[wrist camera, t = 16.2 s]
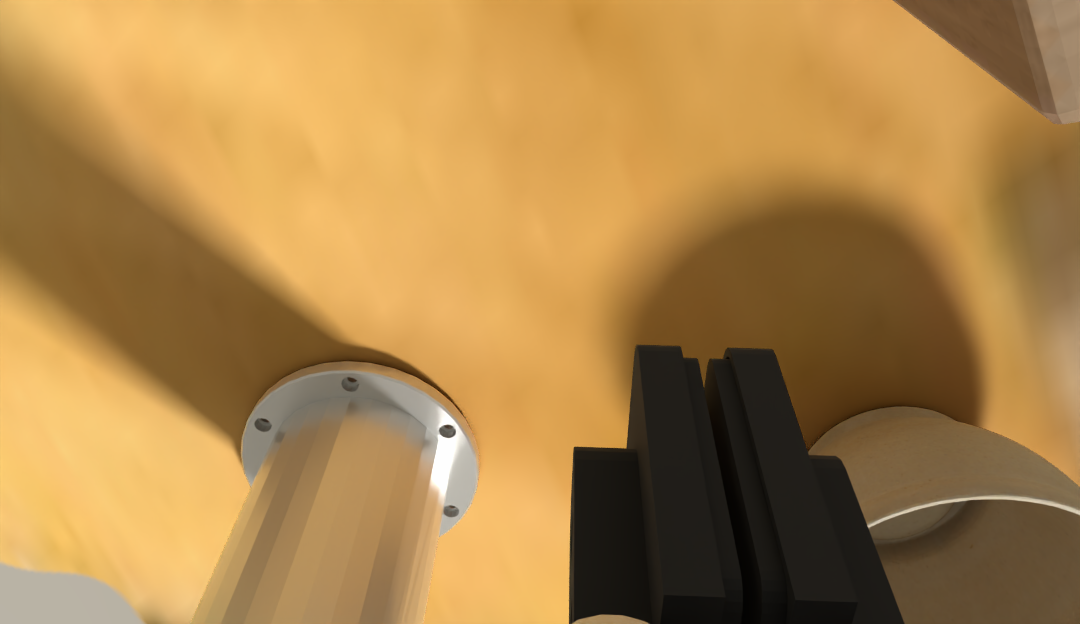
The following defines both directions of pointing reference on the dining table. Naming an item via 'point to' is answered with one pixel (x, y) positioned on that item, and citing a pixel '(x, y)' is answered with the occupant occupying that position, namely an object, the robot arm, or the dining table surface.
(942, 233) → the dining table surface
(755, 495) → the robot arm
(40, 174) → the dining table surface
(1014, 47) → the wooden block
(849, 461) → the planter bowl
